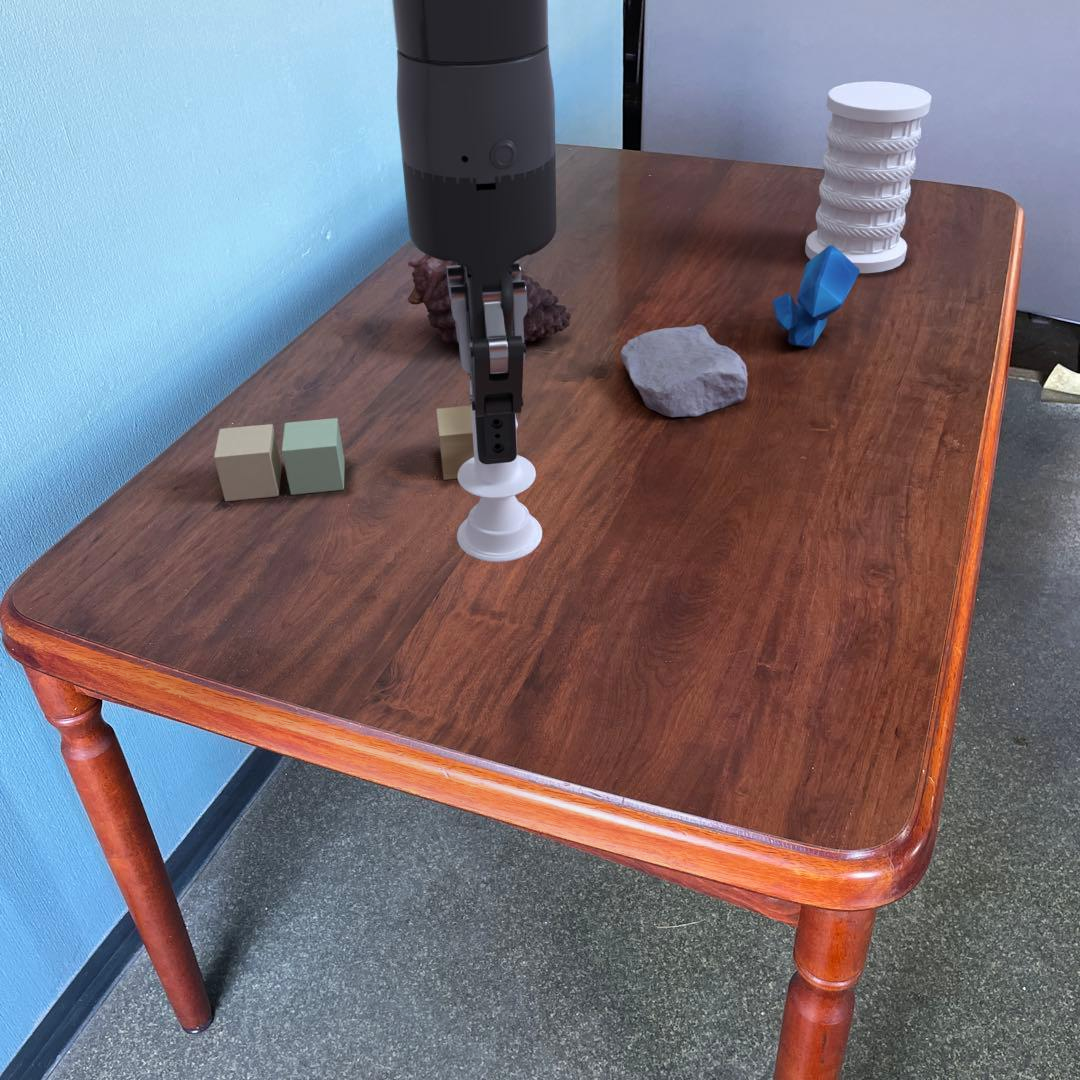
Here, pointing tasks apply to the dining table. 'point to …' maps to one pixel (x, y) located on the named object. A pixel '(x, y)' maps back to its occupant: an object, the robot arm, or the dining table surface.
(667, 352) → the stone block
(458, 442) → the block
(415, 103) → the robot arm
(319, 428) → the block
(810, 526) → the dining table surface
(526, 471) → the candle
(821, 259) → the crystal
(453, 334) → the pine cone
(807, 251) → the decorative container
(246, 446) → the block
